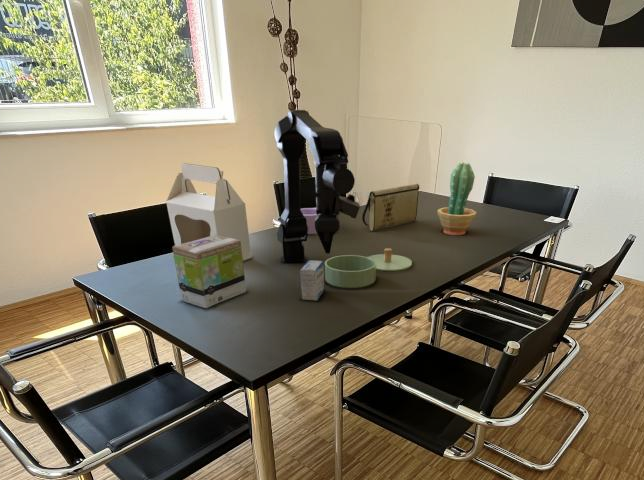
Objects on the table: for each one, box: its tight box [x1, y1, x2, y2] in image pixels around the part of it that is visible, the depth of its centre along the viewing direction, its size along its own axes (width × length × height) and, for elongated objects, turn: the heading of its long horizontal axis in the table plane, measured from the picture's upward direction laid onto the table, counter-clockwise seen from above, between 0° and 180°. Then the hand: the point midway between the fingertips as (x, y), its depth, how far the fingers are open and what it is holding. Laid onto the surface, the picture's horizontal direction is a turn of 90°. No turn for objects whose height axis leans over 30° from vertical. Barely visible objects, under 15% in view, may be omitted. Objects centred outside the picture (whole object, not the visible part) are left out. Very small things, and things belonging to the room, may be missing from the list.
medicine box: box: [299, 260, 325, 302], centre depth 129 cm, size 8×4×9 cm, turn 169°
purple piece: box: [301, 207, 318, 235], centre depth 189 cm, size 20×12×7 cm, turn 136°
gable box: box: [165, 162, 252, 262], centre depth 150 cm, size 22×13×28 cm, turn 57°
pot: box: [324, 254, 377, 289], centre depth 140 cm, size 15×15×5 cm
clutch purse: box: [361, 183, 420, 232], centre depth 192 cm, size 30×7×15 cm, turn 133°
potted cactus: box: [436, 162, 477, 236], centre depth 182 cm, size 15×15×25 cm
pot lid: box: [367, 247, 413, 272], centre depth 153 cm, size 16×16×5 cm
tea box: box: [171, 235, 247, 309], centre depth 125 cm, size 15×10×15 cm
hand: (327, 248), depth 129 cm, fingers open, 9 cm apart
